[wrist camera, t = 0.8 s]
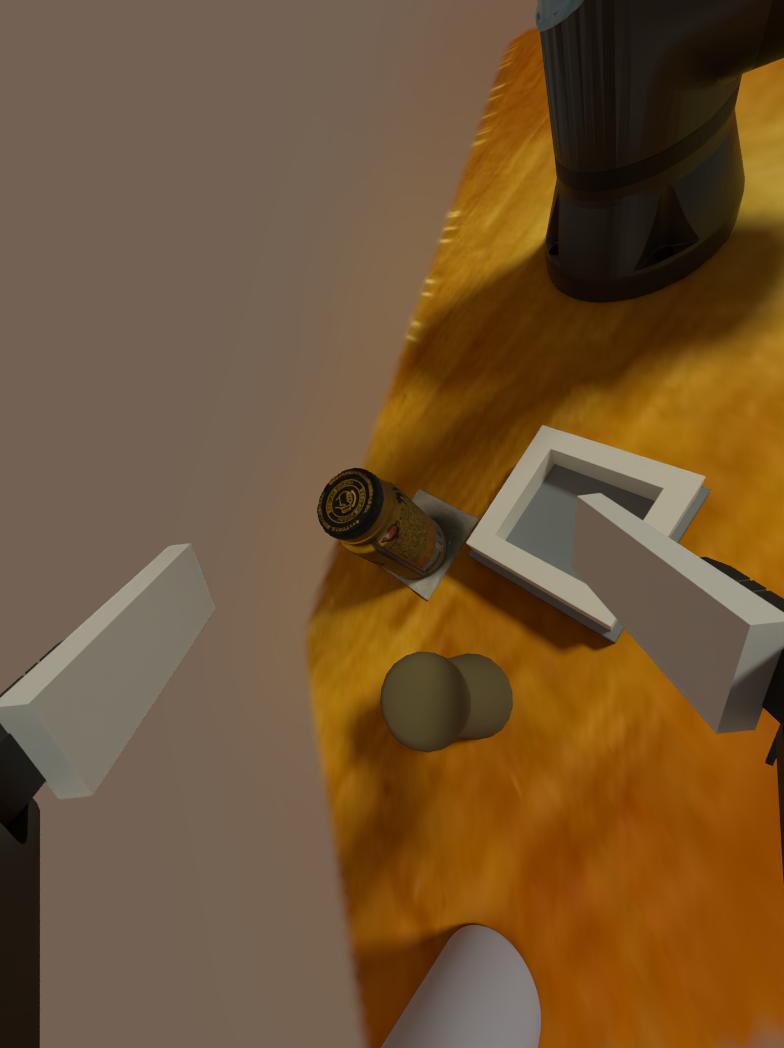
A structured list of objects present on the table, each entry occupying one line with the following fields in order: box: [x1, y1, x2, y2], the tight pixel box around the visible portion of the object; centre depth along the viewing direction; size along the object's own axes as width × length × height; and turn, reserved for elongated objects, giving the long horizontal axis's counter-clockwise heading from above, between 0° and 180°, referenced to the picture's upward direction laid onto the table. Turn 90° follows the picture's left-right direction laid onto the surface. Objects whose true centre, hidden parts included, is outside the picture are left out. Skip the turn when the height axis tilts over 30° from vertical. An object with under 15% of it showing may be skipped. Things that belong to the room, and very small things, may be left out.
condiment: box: [317, 468, 479, 600], centre depth 31 cm, size 7×8×12 cm
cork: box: [381, 652, 513, 752], centre depth 25 cm, size 6×6×11 cm
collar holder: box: [466, 425, 711, 644], centre depth 28 cm, size 12×12×4 cm
